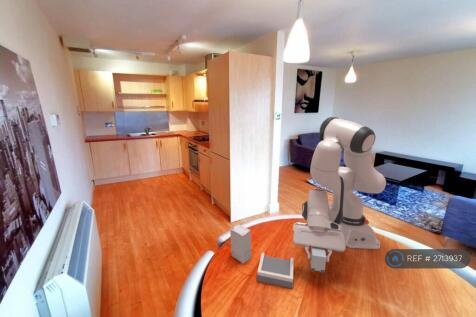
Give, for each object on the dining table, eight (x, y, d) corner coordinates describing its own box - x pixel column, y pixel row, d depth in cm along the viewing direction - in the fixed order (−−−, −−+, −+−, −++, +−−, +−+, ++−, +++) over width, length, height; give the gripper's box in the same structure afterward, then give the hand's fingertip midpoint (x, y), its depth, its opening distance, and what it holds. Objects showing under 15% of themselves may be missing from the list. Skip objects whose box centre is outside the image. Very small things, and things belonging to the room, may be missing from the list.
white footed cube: (322, 264, 88) (324, 248, 86) (324, 275, 83) (326, 258, 80) (310, 262, 89) (311, 246, 87) (310, 272, 84) (312, 255, 82)
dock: (292, 266, 95) (293, 258, 93) (292, 288, 83) (293, 279, 82) (261, 260, 98) (261, 252, 97) (257, 281, 87) (257, 271, 86)
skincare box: (251, 258, 100) (252, 230, 96) (242, 264, 96) (242, 235, 92) (239, 249, 106) (239, 223, 102) (230, 255, 101) (229, 228, 98)
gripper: (293, 219, 90) (291, 254, 84) (345, 226, 85) (347, 264, 79) (292, 223, 96) (291, 256, 89) (342, 229, 91) (344, 265, 84)
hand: (318, 260), depth 84 cm, fingers closed on white footed cube, 5 cm apart
